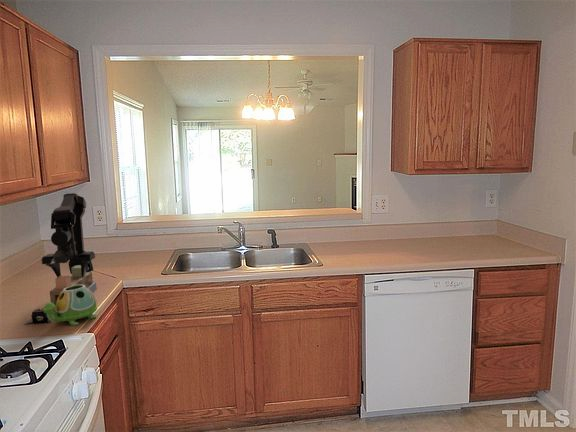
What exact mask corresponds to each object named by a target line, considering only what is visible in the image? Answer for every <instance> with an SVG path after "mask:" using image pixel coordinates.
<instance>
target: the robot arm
mask: <svg viewBox="0 0 576 432" xmlns="http://www.w3.org/2000/svg"><path fill="white" fill-rule="evenodd" d="M86 208H87V202H86V199H85V198H84V197H83V196H80V195H78V193H74V192H71V193H65V194H63V199H62V201H61V204H60V206H58V207H56V208H54V210H53V211H52V213H51V216H50V217H51V218H50V229H51V230H55V231H54V232H53V233H52V234H51V237H50V241H51V244H53V245H54V246H56V251H55V252H54V253H48V254H46V255H43V256H42V257H41V259H40V261H41V264H42V265H45V266H46V267H49V268H50V269H52V271H53V273H54V274H55V276H56V278H57V277H59V276H62V273H61V265H60V264H67V263H68V269H69V273H70V275H72V270H71V268H72V267H74V266H76V265H81V275H82V278H83V277H84V275H85V272H93V271H94V266H93V263H92V262H93V260H94V259H95V258H96V254H95V252H94V250H93V251H86V250H85V244H84V243H85V242H84V232H83V231H84V230H83V216H84V214H85V213H86Z"/></svg>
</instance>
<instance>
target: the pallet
mask: <svg viewBox="0 0 576 432" xmlns="http://www.w3.org/2000/svg"><path fill="white" fill-rule="evenodd" d="M92 272H93V271H91V272H86V275H84V277H83V278H82V277H72V275H70V276H71V286H74V285H79V284H81V285H85V287H86V288H87V287H89V286H90V285H91V284H92V283H94V281H93V273H92ZM70 290H74V289H70ZM62 291H63V289H56V286H55V287H54V288H53V289H50V291H49V296H50V299H49V300H50V302H52V303H53V304H56V302H57V299H58V297H59V295H60V293H61V292H62Z"/></svg>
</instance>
